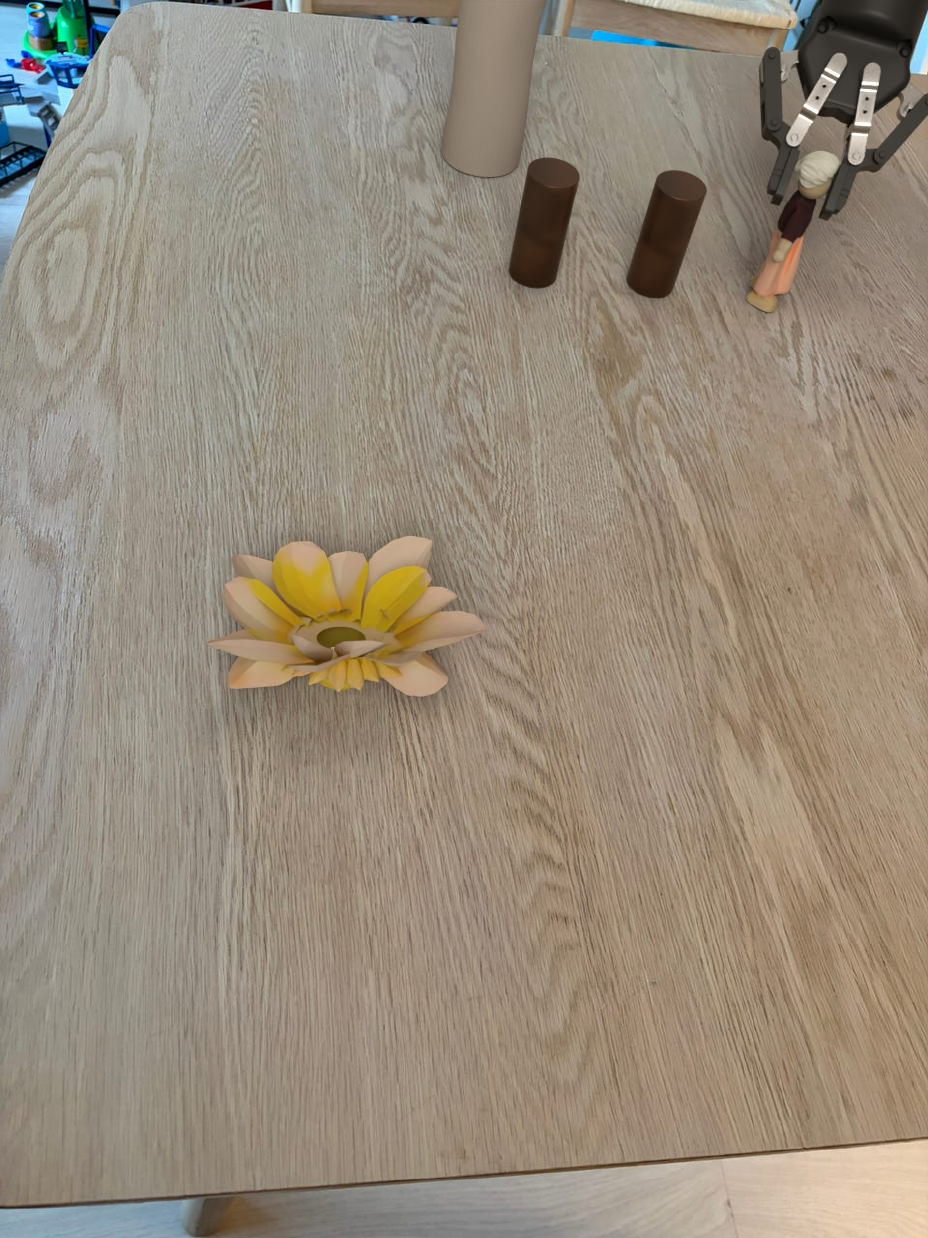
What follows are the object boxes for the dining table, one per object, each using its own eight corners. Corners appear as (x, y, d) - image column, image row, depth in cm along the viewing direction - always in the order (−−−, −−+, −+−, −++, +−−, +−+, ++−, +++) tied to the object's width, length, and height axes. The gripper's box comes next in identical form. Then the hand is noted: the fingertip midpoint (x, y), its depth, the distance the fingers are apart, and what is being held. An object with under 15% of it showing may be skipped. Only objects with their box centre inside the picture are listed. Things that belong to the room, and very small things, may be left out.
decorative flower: (483, 553, 65) (494, 474, 55) (478, 727, 60) (490, 673, 51) (243, 542, 64) (214, 460, 55) (222, 716, 60) (186, 659, 51)
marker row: (669, 269, 87) (702, 172, 80) (676, 299, 85) (711, 202, 78) (507, 255, 86) (525, 154, 78) (510, 286, 83) (529, 184, 76)
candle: (531, 105, 100) (574, -134, 84) (514, 184, 92) (558, -64, 76) (458, 91, 100) (487, -152, 84) (435, 168, 92) (462, -84, 76)
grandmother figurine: (787, 324, 85) (855, 186, 75) (742, 314, 85) (803, 174, 75) (785, 268, 90) (849, 130, 79) (742, 259, 90) (800, 119, 79)
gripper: (803, -77, 73) (718, 168, 76) (998, -22, 72) (904, 225, 75) (784, -26, 80) (707, 196, 83) (960, 24, 79) (876, 247, 82)
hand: (801, 208), depth 79 cm, fingers closed on grandmother figurine, 3 cm apart
